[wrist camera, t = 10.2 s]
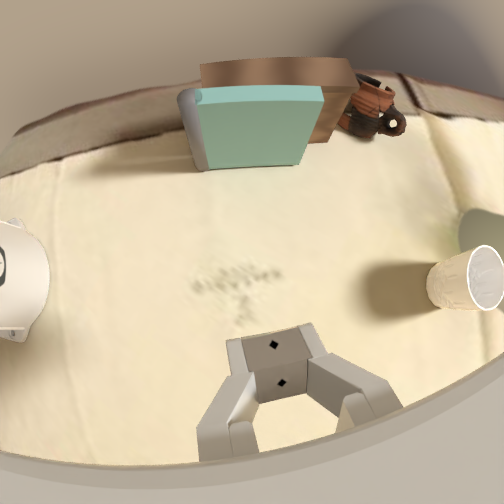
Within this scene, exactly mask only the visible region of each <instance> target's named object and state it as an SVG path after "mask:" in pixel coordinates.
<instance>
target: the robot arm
mask: <svg viewBox="0 0 504 504" xmlns="http://www.w3.org/2000/svg"><path fill="white" fill-rule="evenodd" d="M49 282H50V273H49V264H48V260H47V256H46V253H45V251H44V249H43V247H42V245H41V243H40V242H39V241H38V240H37V239H36V238H35V237H34V236H33V235H31V234H30V233H28V232H27V231H26V229H25V227H24V224H23V223H22V221H21V220H20V219H17V218H13V219H11V220H10V221H8V222H3V221H0V337H1V338H4V339H8V340H11V341H14V342H19V343H23V342H25V340H26V338H27V336H28V333H29V329H30V326H31V325H32V323H33V322H34V321H35V320H36V319H37V317H38V316H39V315H40V313H41V311H42V309H43V307H44V305H45V302H46V299H47V296H48V291H49ZM14 332H15V335H14ZM226 348H227V354H228V359H229V365H230V371H231V376H227V377H226V379H225V381H224V383H223V384H222V386H221V388H220V389H219V391H218V393H217V394H216V396H215V398H214V399H213V401H212V403H211V404H210V406H209V408H208V409H207V411H206V413H205V414H204V416H203V417H202V419H201V421H200V422H199V424H198V426H197V427H196V429H197V441H198V452H199V462H193V463H181V464H166V465H99V464H84V463H73V462H64V461H56V460H48V459H42V458H36V457H30V456H25V455H20V454H15V453H10V452H6V451H2V450H0V504H504V352H503V353H502V354H500V355H499V356H497V357H496V358H494V359H493V360H491V361H490V362H488V363H486V364H485V365H483V366H482V367H480V368H478V369H477V370H475V371H473V372H472V373H470V374H468V375H467V376H465V377H463V378H461V379H460V380H458V381H456V382H454V383H452V384H450V385H449V386H447V387H445V388H443V389H441V390H439V391H437V392H435V393H433V394H431V395H429V396H427V397H425V398H423V399H421V400H419V401H417V402H415V403H412V404H410V405H408V406H406V407H403V406H402V404H401V402H400V401H399V399H398V398H397V396H396V394H395V393H394V391H393V389H392V388H391V386H390V385H389V383H388V381H387V380H385V379H383V378H380V377H378V376H376V375H374V374H372V373H370V372H368V371H366V370H364V369H362V368H361V367H359V366H357V365H355V364H353V363H351V362H349V361H347V360H345V359H343V358H341V357H339V356H337V355H335V354H333V353H330V354H328V352H327V350H326V349H325V347H324V345H323V343H322V341H321V339H320V337H319V335H318V333H317V332H316V330H315V328H314V326H313V324H312V323H307V324H303V325H299V326H297V327H296V326H295V327H291V328H286V329H282V330H277V331H273V332H269V333H263V334H258V335H252V336H246V337H241V339H240V338H236V339H229V340H226ZM305 393H307V395H309V396H310V397H311V398H313V399H314V400H315V401H316V402H318V403H319V404H320V405H322V406H323V407H325V408H326V409H327V410H329V411H330V412H331V413H333V414H334V415H335V416H337V417H338V418H339V420H338V424H337V428H336V432H335V433H334V434H331V435H328V436H325V437H321V438H318V439H314V440H311V441H307V442H304V443H300V444H296V445H292V446H288V447H284V448H279V449H275V450H270V451H266V452H261V453H259V449H258V445H257V441H256V437H255V433H254V429H253V425H252V422H253V419H254V417H255V415H256V412H257V410H258V407H259V404H261V403H266V402H270V401H274V400H278V399H282V398H287V397H291V396H296V395H300V394H305Z"/></svg>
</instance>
